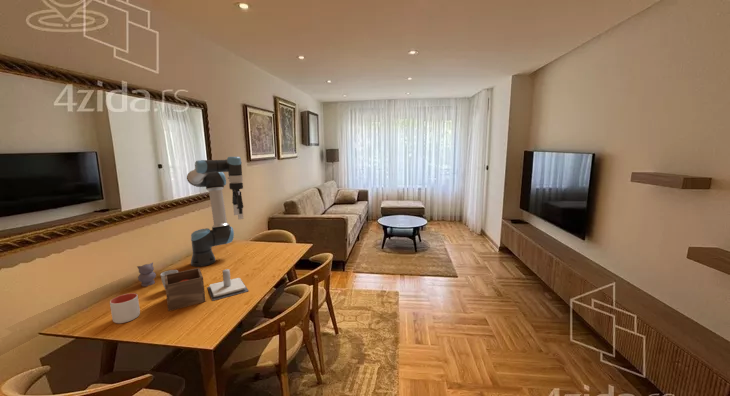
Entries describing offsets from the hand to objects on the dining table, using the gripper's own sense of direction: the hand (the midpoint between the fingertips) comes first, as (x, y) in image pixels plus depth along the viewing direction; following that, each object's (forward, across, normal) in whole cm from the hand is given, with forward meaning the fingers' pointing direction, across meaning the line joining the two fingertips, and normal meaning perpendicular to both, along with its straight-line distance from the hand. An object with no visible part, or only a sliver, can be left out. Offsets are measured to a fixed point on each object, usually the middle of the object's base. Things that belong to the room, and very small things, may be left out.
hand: (238, 216), depth 181 cm
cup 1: (+37, +23, -56) cm, 71 cm away
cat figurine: (+37, -17, -49) cm, 64 cm away
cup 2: (+37, 0, -38) cm, 53 cm away
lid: (+36, +18, -12) cm, 42 cm away
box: (+37, +19, -32) cm, 52 cm away
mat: (+36, +19, -12) cm, 43 cm away
